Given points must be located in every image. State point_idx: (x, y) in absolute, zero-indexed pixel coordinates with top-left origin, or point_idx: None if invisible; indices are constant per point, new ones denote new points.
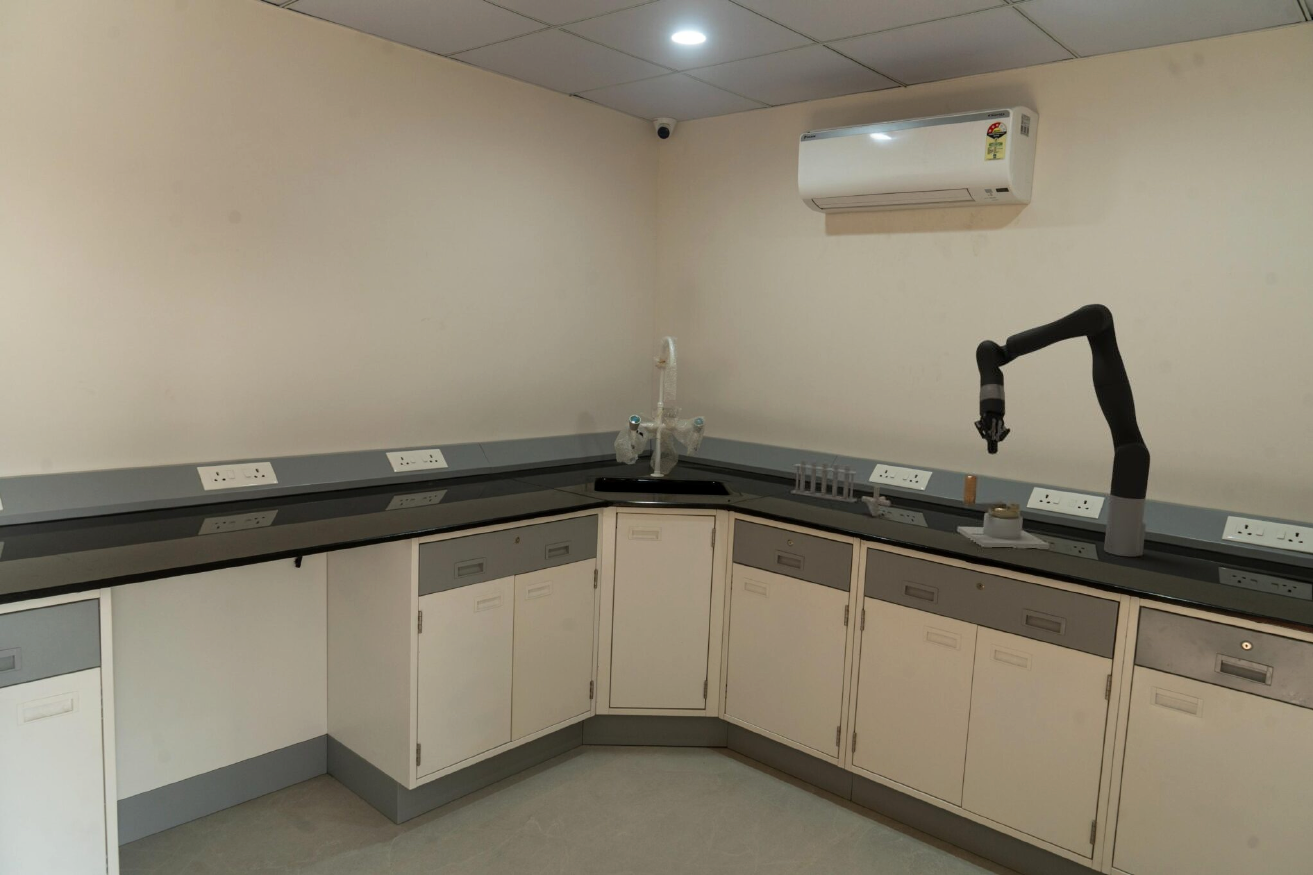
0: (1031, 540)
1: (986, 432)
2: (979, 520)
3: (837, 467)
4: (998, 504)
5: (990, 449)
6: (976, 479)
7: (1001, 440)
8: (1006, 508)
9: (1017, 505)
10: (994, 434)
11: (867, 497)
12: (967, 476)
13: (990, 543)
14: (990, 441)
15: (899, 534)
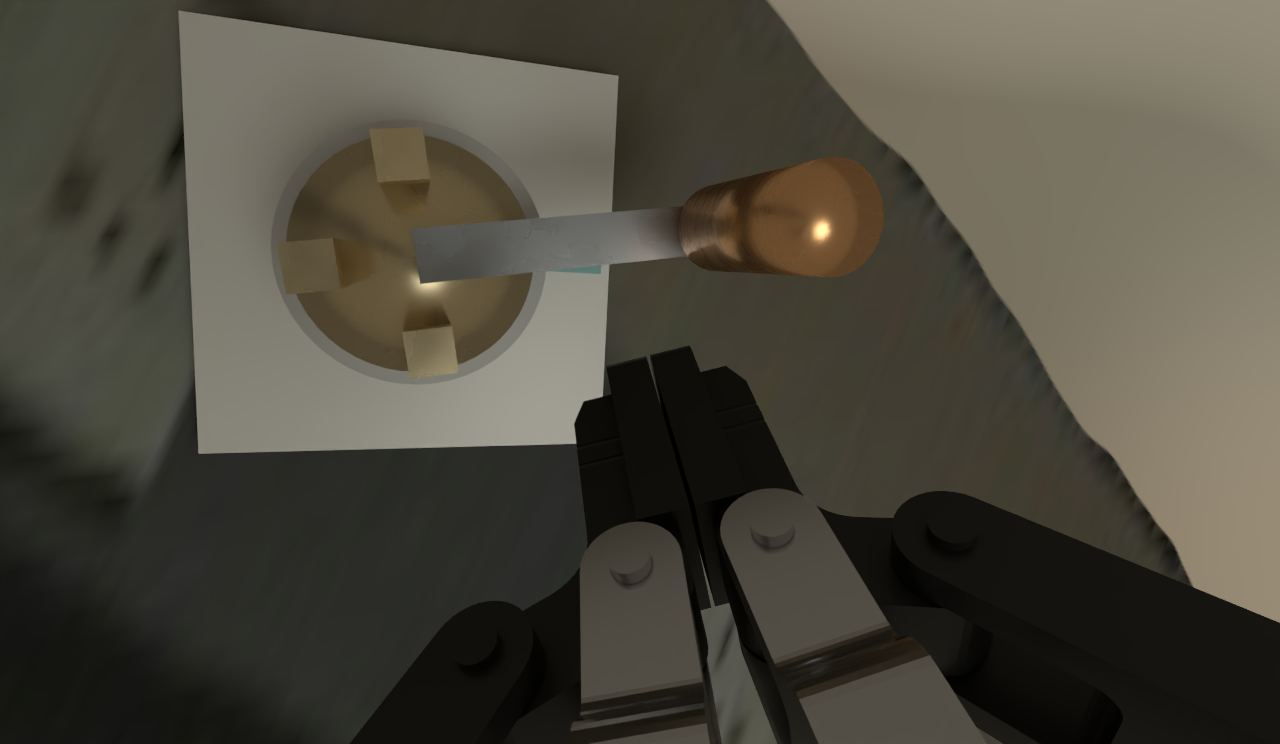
0: (268, 119)
1: (1078, 557)
2: (337, 731)
3: None
4: (487, 222)
5: (737, 384)
6: (794, 169)
7: (494, 611)
8: (413, 222)
9: (299, 241)
10: (772, 651)
11: None
12: (880, 194)
13: (575, 72)
14: (794, 491)
15: (899, 330)
